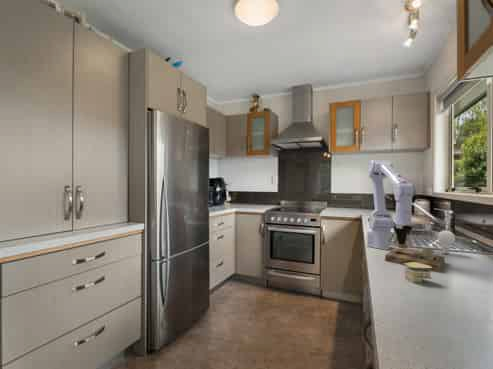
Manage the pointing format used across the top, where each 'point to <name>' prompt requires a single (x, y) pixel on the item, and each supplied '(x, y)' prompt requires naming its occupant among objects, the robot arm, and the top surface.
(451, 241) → the lightbulb
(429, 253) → the peg
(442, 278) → the top surface
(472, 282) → the top surface
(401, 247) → the beech peg
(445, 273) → the top surface
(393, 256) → the pegboard
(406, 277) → the stacked layers on plate
